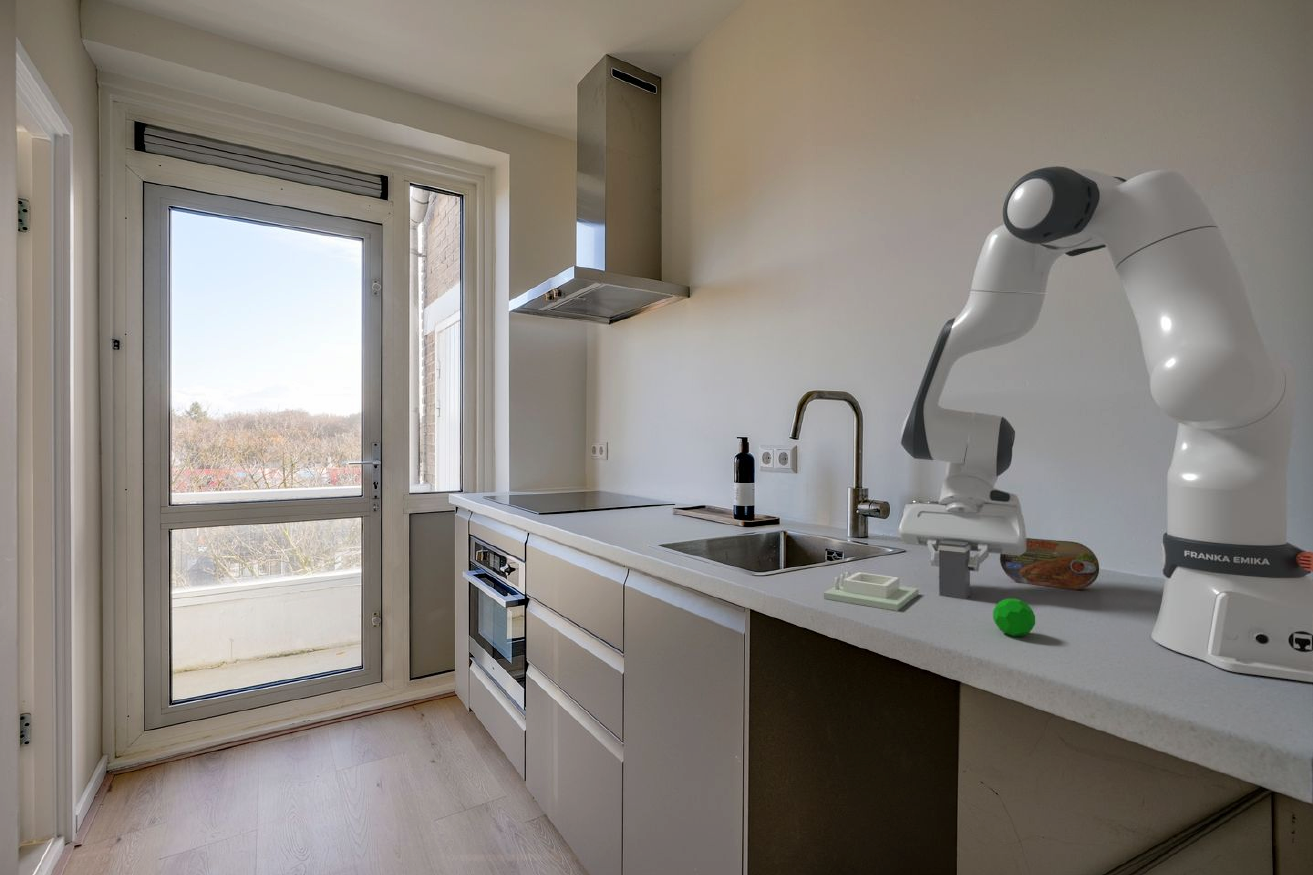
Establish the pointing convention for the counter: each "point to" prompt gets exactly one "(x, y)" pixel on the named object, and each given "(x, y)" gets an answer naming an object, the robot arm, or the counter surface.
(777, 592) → the counter surface
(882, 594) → the board
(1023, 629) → the polyhedron
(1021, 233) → the robot arm
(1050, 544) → the tin
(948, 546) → the dark grey tall block
